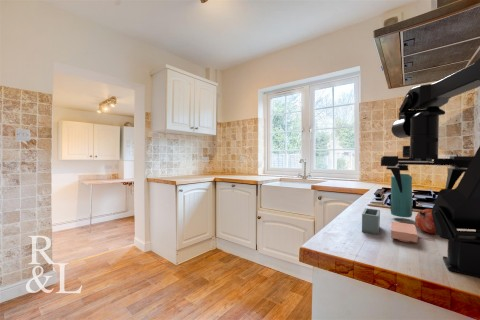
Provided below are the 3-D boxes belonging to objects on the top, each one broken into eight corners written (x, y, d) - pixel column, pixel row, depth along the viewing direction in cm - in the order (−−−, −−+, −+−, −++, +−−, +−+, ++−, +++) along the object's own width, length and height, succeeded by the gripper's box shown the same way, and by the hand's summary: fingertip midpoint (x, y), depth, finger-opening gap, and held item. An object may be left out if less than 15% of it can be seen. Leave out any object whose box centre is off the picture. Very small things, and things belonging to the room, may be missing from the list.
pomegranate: (426, 234, 71) (401, 215, 71) (443, 217, 69) (418, 198, 69) (444, 246, 63) (417, 225, 63) (464, 228, 62) (436, 206, 62)
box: (378, 234, 64) (378, 216, 64) (361, 231, 67) (362, 213, 66) (379, 226, 71) (379, 209, 71) (364, 224, 74) (365, 208, 74)
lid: (417, 246, 56) (417, 234, 56) (390, 241, 59) (391, 230, 59) (414, 234, 64) (414, 224, 64) (391, 231, 68) (391, 221, 68)
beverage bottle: (416, 222, 76) (417, 164, 76) (395, 221, 77) (395, 164, 77) (406, 217, 82) (407, 164, 82) (386, 216, 84) (387, 164, 83)
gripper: (465, 135, 59) (464, 193, 59) (382, 138, 69) (382, 187, 70) (478, 132, 50) (477, 200, 50) (381, 136, 60) (380, 192, 61)
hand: (422, 194), depth 58 cm, fingers open, 9 cm apart
